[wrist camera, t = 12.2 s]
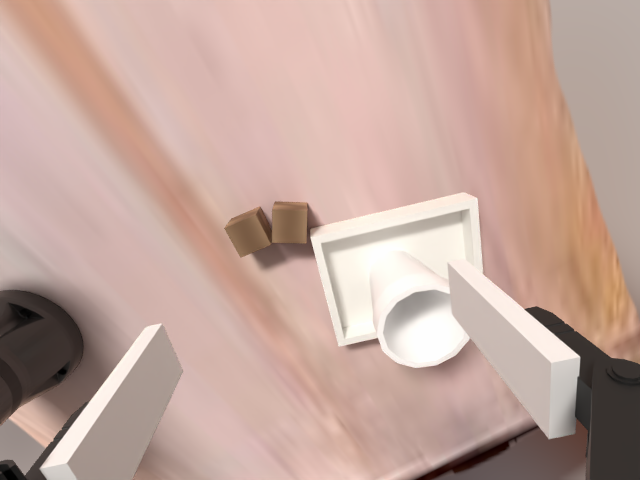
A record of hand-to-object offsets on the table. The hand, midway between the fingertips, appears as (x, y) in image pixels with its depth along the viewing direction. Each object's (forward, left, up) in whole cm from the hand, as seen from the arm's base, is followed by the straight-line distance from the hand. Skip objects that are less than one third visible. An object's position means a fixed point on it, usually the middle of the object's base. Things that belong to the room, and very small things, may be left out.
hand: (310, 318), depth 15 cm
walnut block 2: (-3, -3, -28) cm, 28 cm away
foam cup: (+9, -13, -27) cm, 31 cm away
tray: (+9, -13, -28) cm, 32 cm away
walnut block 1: (-8, -3, -28) cm, 29 cm away
